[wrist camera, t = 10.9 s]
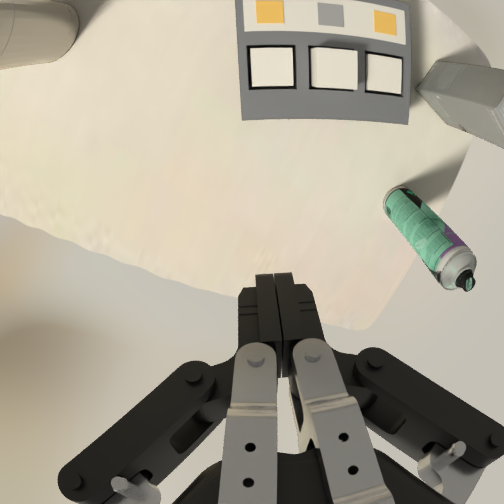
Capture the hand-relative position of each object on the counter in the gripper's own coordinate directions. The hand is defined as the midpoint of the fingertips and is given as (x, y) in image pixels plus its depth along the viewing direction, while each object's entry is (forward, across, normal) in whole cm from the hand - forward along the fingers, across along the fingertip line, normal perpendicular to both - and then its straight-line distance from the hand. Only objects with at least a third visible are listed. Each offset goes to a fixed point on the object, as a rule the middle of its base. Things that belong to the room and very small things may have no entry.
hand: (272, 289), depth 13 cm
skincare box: (+29, -28, -8) cm, 41 cm away
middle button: (+25, -9, -9) cm, 28 cm away
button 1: (+27, -16, -9) cm, 32 cm away
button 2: (+27, -2, -9) cm, 29 cm away
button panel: (+29, -9, -11) cm, 32 cm away
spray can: (+29, -22, +10) cm, 38 cm away
